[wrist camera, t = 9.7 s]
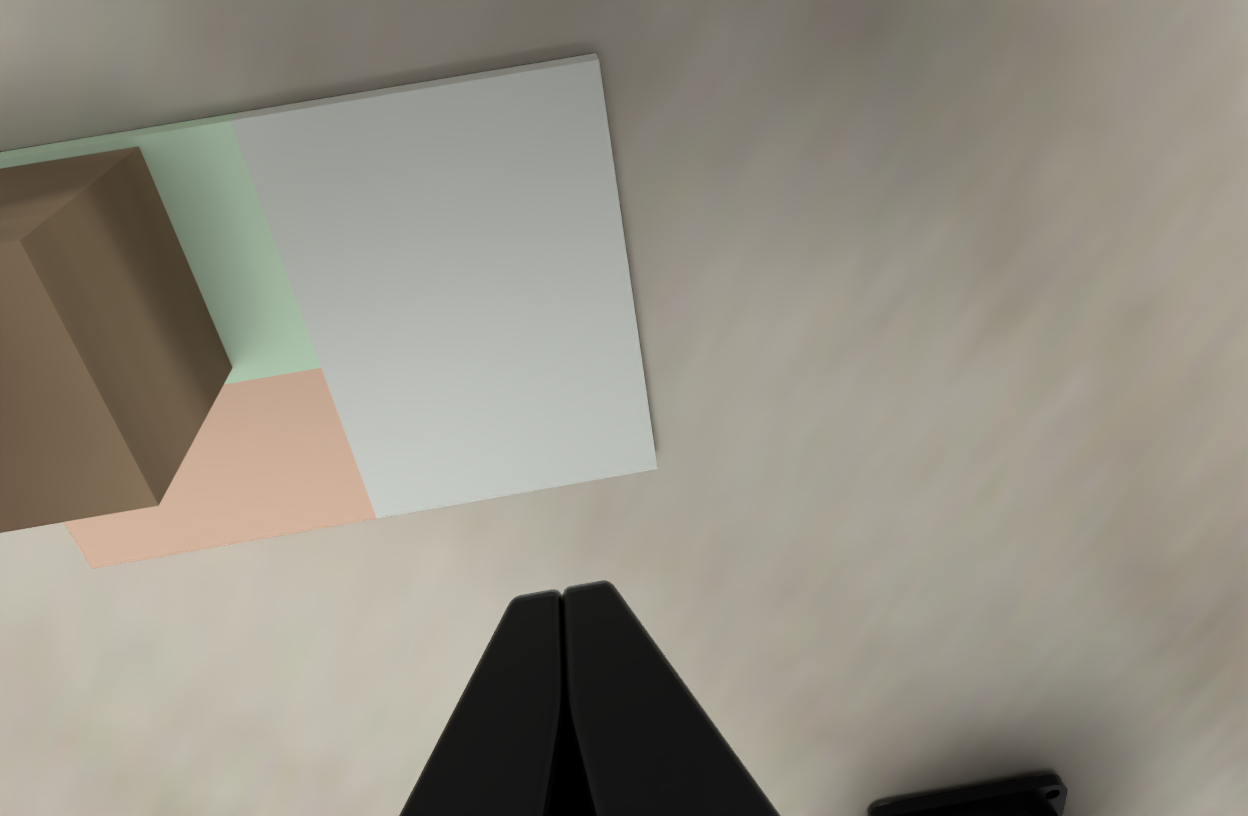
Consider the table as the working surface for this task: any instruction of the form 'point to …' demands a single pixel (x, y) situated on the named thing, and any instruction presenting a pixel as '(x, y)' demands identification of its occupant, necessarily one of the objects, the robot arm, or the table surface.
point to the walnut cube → (96, 341)
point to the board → (394, 305)
